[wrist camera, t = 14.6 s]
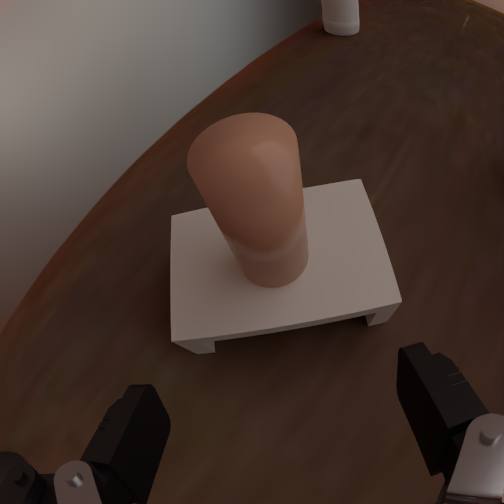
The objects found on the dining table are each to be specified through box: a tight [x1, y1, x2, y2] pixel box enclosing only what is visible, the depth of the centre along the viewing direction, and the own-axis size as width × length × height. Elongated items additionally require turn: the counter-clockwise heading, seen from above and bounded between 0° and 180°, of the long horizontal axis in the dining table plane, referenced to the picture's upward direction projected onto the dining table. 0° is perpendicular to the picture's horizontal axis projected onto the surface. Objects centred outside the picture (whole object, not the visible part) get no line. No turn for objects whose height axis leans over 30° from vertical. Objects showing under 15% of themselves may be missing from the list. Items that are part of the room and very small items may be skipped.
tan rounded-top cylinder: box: [187, 113, 309, 288], centre depth 20 cm, size 6×6×12 cm
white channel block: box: [170, 179, 402, 354], centre depth 28 cm, size 18×12×6 cm, turn 97°
